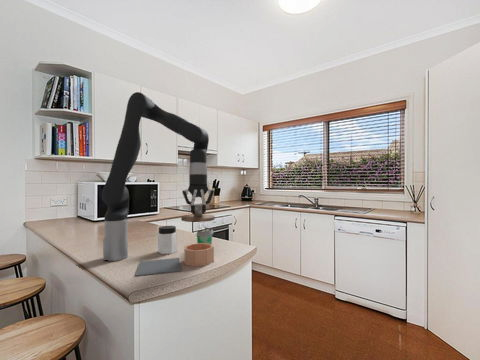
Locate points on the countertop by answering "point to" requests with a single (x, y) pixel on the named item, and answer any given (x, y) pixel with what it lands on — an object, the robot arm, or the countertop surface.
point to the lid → (197, 216)
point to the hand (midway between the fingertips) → (198, 213)
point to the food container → (205, 236)
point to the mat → (158, 266)
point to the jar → (167, 240)
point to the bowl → (198, 254)
